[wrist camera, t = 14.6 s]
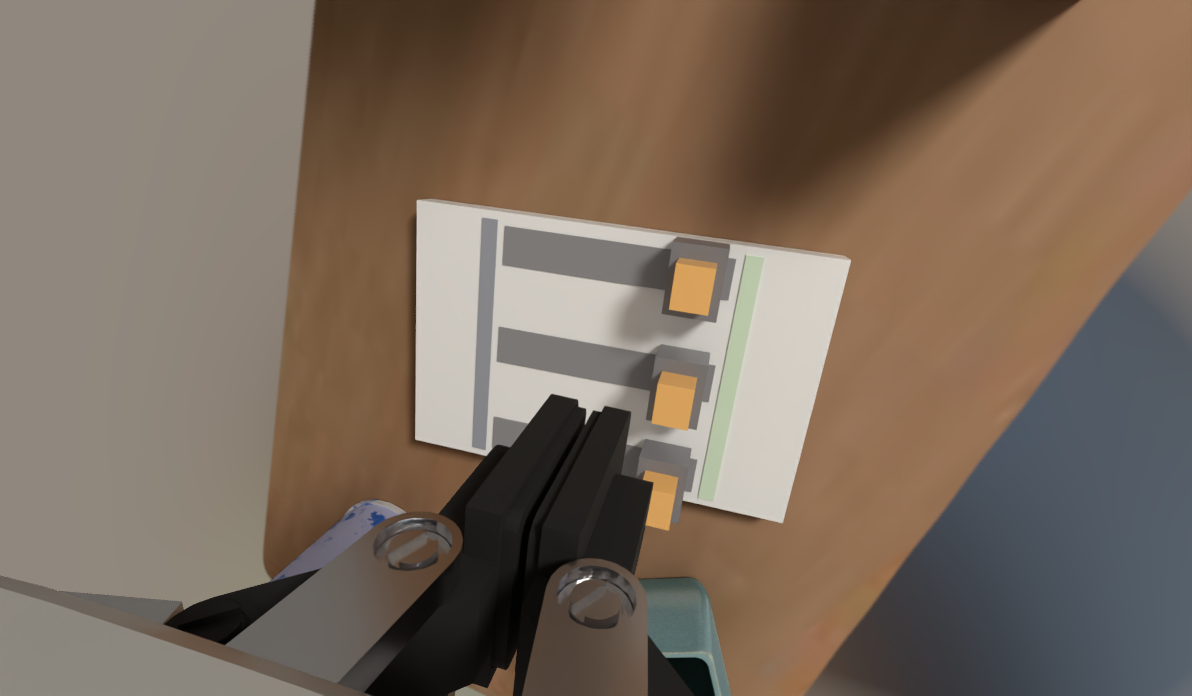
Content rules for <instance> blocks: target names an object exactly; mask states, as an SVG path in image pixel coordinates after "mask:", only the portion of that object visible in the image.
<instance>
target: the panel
mask: <svg viewBox="0 0 1192 696" xmlns="http://www.w3.org/2000/svg"><path fill="white" fill-rule="evenodd" d="M676 237H683V238H691V239H698V240H705V241H712V242H719V243H727V244H730V252H729V257H728V262H727V268H726V273H725V278H724V284H723V289H722V294H721V300H720V305H719V310H718V315H717V321H716V323H713V322H707V321H701V320H695V319H689V318H683V317H677V316H671V315H665V314H661V313H662V307H663V300H664V294H665V287H666V281H667V274H668V268H669V262H670V255H671V249H672V242H673V240H674V239H675V238H676ZM850 263H851V260H850V259H848V258H847V257H845V256H843V255H836V254H829V253H822V252H814V251H807V250H800V249H793V248H785V247H778V246H771V245H764V244H756V243H749V242H742V241H735V240H727V239H720V238H713V237H706V236H698V235H691V234H684V233H677V232H670V231H662V230H655V229H648V228H641V227H633V226H626V225H619V224H612V223H604V222H597V221H590V220H583V219H575V218H568V217H561V216H554V215H546V214H539V213H532V212H525V211H517V210H510V209H503V208H496V207H488V206H481V205H474V204H467V203H459V202H452V201H445V200H438V199H424V200H417V260H416V412H415V440H419V441H424V442H428V443H432V444H437V445H441V446H446V447H450V448H454V449H459V450H463V451H468V452H472V453H476V454H481V455H485V456H487V454H488V453H489V452H490V451H491V450H492V448H494V447H495V446H496V445H504V446H508V447H511V446H512V445H513V443H514V442H515V441H516V439H517V438H518V437H519V435H520V434H521V433H522V431H523V430H524V429H525V427H526V426H527V425H528V424H529V422H530V421H531V420H532V418H533V417H534V416H535V414H536V413H537V412H538V410H539V409H540V408H541V407H542V405H543V404H544V403H545V401H546V400H547V399H548V397H549V396H550V395H551V394H555V395H560V396H564V397H569V398H573V399H578V405H579V406H578V407H582V408H586V420H585V424H586V422H587V420H588V419H589V417H590V415H591V413H592V411H593V410H595V411H599V412H602V410H603V408H604V406H609V407H613V408H618V409H622V410H627V411H631V420H630V426H629V432H628V438H627V444H626V450H625V456H624V461H623V467H622V473H621V474H622V475H626V476H630V477H634V478H636V475H637V469H638V462H639V456H640V453H641V450H642V447H643V444H644V441H645V439H649V440H654V441H659V442H664V443H668V444H673V445H678V446H683V447H688V448H692V449H691V456H690V463H689V469H688V475H687V480H686V485H685V490H684V496H683V501H688V502H692V503H696V504H701V505H705V506H710V507H714V508H718V509H723V510H727V511H732V512H736V513H740V514H745V515H749V516H754V517H758V518H762V519H767V520H771V521H776V522H780V523H783V520H784V516H785V512H786V508H787V504H788V501H789V497H790V493H791V489H792V485H793V481H794V478H795V474H796V470H797V466H798V462H799V458H800V455H801V451H802V447H803V443H804V439H805V435H806V431H807V428H808V424H809V420H810V416H811V412H812V408H813V405H814V401H815V397H816V393H817V389H818V385H819V382H820V378H821V374H822V370H823V366H824V362H825V359H826V355H827V351H828V347H829V343H830V339H831V336H832V332H833V328H834V324H835V320H836V316H837V312H838V309H839V305H840V301H841V297H842V293H843V289H844V286H845V282H846V278H847V274H848V270H849V266H850ZM661 344H664V345H669V346H675V347H681V348H686V349H692V350H698V351H703V352H709V353H710V359H709V367H708V372H707V378H706V383H705V388H704V393H703V399H702V404H701V409H700V415H699V420H698V425H697V430H693V429H688V431H686V430H681V429H676V428H671V427H666V426H661V425H656V424H652V421H649V420H646V415H647V408H648V402H649V395H650V389H651V382H652V376H653V370H654V363H655V357H656V354H657V352H658V349H659V347H660V345H661Z"/></svg>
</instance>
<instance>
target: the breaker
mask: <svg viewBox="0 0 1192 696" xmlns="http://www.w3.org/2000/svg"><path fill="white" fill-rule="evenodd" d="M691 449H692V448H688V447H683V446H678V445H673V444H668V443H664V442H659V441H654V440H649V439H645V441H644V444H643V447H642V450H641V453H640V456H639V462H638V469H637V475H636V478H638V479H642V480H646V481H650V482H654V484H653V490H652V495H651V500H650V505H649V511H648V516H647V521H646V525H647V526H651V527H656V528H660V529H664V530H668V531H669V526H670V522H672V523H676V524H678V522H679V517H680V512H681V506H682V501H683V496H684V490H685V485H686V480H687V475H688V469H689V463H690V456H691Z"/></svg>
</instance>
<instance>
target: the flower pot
mask: <svg viewBox="0 0 1192 696" xmlns="http://www.w3.org/2000/svg"><path fill="white" fill-rule="evenodd" d="M638 580H639V582H640V583H641V585H642V587H643V588H644V590H645V593H646V598H647V603H648V635H649V637H650V638H651V639H652V641H653V642H654V643H655V645H656V646H657V647H658V648H659V650H660V651H661V652H662V654H663V655H664V656H665V658H666V659H667V660H668V662H669V663H670V664H671V665H672V667H673V668H674V669H675V671H676V672H677V673H678V675H679V676H680V677H681V679H682V680H683V681H684V682H685V684H686V685H687V686H688V688H689V689H690V690H691V692H692V693H693V694H694V696H731V694H730V687H729V682H728V678H727V673H726V669H725V665H724V661H723V657H722V653H721V648H720V644H719V640H718V635H717V631H716V626H715V622H714V618H713V613H712V609H711V604H710V600H709V597H708V594H707V592H706V590H705V588H704V587H703V586H702V584H701V583H700V582H699V581H698V580H696V579H695V578H691V577H684V578H665V579H638Z"/></svg>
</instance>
